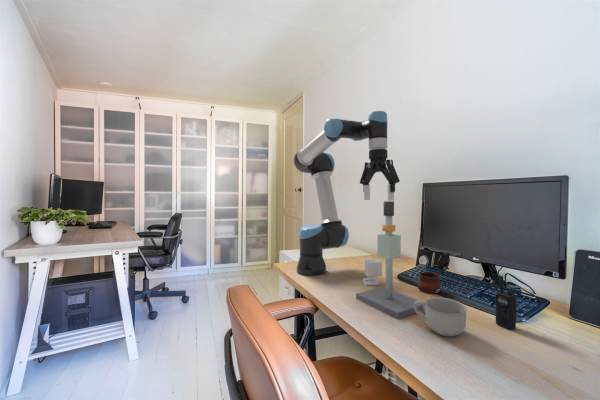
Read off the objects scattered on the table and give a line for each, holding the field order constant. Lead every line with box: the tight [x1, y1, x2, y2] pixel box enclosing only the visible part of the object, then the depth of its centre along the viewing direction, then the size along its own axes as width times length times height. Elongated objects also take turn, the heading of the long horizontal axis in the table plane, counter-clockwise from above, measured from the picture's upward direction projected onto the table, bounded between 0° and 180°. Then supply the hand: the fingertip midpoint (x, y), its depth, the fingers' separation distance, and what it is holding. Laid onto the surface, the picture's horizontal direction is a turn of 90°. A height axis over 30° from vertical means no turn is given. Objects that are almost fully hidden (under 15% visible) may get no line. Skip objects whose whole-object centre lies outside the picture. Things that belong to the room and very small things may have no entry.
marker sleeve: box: [377, 233, 402, 260], centre depth 102 cm, size 6×6×8 cm
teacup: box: [413, 296, 468, 338], centre depth 83 cm, size 14×11×8 cm
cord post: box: [355, 200, 425, 320], centre depth 102 cm, size 20×14×37 cm
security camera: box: [362, 258, 383, 286], centre depth 125 cm, size 6×7×10 cm
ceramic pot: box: [417, 271, 442, 295], centre depth 115 cm, size 18×18×7 cm
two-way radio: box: [494, 275, 518, 330], centre depth 84 cm, size 6×4×15 cm
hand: (378, 200), depth 119 cm, fingers open, 13 cm apart
